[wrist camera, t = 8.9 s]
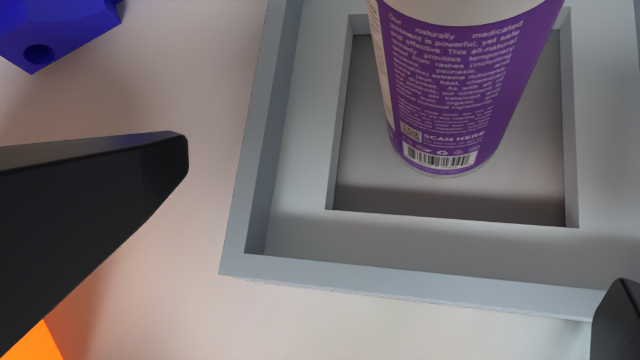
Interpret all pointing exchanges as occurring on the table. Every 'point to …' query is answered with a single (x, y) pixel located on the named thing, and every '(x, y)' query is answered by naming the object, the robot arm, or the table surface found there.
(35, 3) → the cable clip
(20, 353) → the orange juice
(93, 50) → the table surface
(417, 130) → the container
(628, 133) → the walled box
